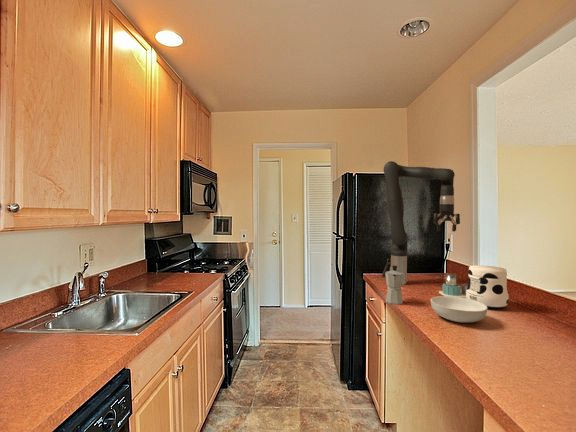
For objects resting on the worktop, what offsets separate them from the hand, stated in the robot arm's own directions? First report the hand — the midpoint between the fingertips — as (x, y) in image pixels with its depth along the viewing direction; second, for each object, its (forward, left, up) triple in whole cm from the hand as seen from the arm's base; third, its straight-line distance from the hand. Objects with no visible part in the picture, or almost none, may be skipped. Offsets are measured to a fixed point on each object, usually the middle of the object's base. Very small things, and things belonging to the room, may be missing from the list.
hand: (446, 231), depth 185 cm
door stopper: (-24, +30, -33) cm, 51 cm away
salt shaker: (-5, -17, -32) cm, 36 cm away
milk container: (+4, -34, -33) cm, 48 cm away
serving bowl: (-20, -54, -33) cm, 67 cm away
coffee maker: (-39, -30, -33) cm, 59 cm away
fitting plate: (0, -18, -33) cm, 37 cm away
